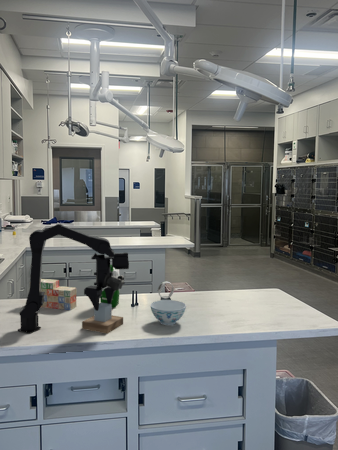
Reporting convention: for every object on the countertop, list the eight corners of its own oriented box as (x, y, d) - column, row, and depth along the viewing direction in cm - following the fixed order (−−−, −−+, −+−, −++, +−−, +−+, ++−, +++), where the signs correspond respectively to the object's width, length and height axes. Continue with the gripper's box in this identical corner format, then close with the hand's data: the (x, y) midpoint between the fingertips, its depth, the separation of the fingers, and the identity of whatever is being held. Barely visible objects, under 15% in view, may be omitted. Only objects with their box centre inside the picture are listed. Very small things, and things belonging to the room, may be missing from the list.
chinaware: (145, 318, 175) (145, 301, 174) (177, 315, 180) (178, 298, 179) (157, 330, 161) (157, 311, 160) (191, 326, 166) (191, 308, 166)
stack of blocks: (76, 306, 192) (76, 281, 190) (70, 310, 186) (70, 284, 184) (37, 302, 197) (36, 278, 196) (29, 306, 191) (29, 280, 190)
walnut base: (107, 333, 157) (107, 326, 157) (82, 328, 162) (82, 321, 161) (123, 324, 168) (123, 317, 168) (98, 319, 173) (98, 313, 172)
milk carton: (98, 307, 190) (98, 266, 188) (103, 302, 199) (103, 262, 197) (116, 308, 189) (116, 266, 187) (121, 303, 198) (121, 263, 196)
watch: (156, 302, 199) (156, 280, 198) (172, 302, 201) (172, 280, 200) (158, 306, 194) (158, 283, 193) (174, 305, 195) (174, 283, 194)
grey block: (104, 322, 161) (104, 307, 161) (94, 320, 163) (94, 305, 163) (111, 318, 166) (111, 304, 165) (101, 316, 168) (101, 302, 167)
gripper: (107, 276, 151) (107, 316, 152) (131, 267, 168) (131, 303, 169) (83, 273, 155) (83, 312, 157) (109, 265, 172) (109, 300, 174)
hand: (103, 307), depth 164 cm, fingers open, 9 cm apart
